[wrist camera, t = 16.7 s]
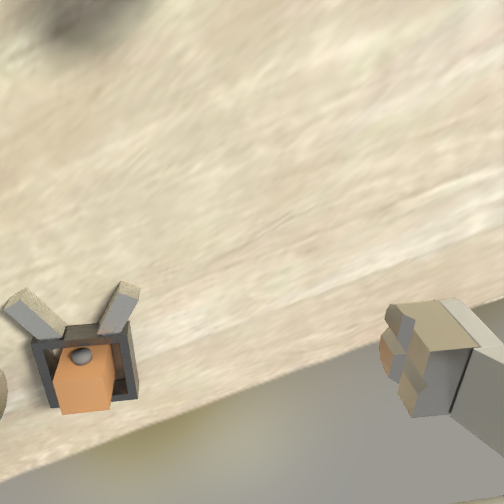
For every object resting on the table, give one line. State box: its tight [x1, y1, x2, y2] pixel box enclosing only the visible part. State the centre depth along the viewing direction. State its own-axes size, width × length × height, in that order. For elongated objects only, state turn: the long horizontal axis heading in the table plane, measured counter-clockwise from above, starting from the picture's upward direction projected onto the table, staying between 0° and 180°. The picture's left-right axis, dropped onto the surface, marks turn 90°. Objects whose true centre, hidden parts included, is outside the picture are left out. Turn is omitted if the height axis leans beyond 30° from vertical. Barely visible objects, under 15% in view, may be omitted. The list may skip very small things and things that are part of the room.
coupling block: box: [53, 344, 116, 415], centre depth 50 cm, size 5×7×6 cm
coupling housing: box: [4, 281, 140, 408], centre depth 50 cm, size 13×16×2 cm
